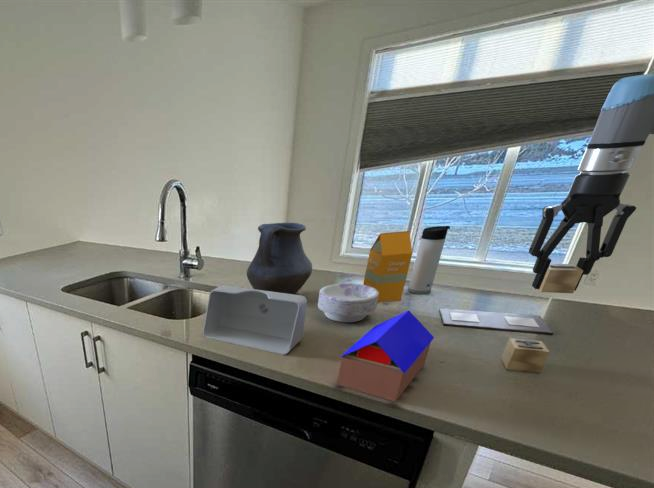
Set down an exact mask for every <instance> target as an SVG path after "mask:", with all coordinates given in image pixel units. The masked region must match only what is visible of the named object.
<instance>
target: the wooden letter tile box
mask: <svg viewBox="0 0 654 488" xmlns="http://www.w3.org/2000/svg"><path fill="white" fill-rule="evenodd" d="M576 265H577V264H574V263H550V265H549V268H548V269H547V272H546V274H545V276H544V279H543V281H542V284H541V286H540V289H537V290H538V291H539V292H540V293H552V294H553V293H554V294H574V293H575V291H574V290H575V288H576V286H577V284H578V281H579V279H580V277H581V275H582V273H583V270H582V269H580V268H579V267H577V266H576Z"/></svg>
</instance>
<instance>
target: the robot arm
mask: <svg viewBox="0 0 654 488" xmlns="http://www.w3.org/2000/svg"><path fill="white" fill-rule="evenodd" d="M592 131H593V132H592V134H591V137H590V140H589V142H588V144H587V145H586V149H585V151H584V153H583V156H582V158H581V161H580V163H579V166H578V168H577V170H578V172H580V173H577V174H576V175H575V176H574V178H573V180H572V183H571V186H570V188H569V189H568V193H567V196H566V197H565V199H564V200H563V201H562V202H561V203H560V204H556V205H553V206H547V205H546V206H544V207H543V208H542V211H541V212H542V214H541V215H542V216H541V221H540V223H539V225H538V228H537V231H536V233H535V235H534V237H533V239H532V242H531V244H530V247H529V249H528V254H530V255H531V256H532V257H536V259H535V262H534V265H533V267H532V272H533V273H534V274H535V276H534V278H533V281H532V284H531V287H532V288H534V290H538V289H540V286H541V284H542V281H543V279H544V276H545V274H546V272H547V269H548V268H549V265H550V264H552V259H551V258H550V256H551V254H552V253H553V251H554V250H555V249H556V248H557V246H558V245H559V244H560V243H561V242H562V240H564V238H565V237H566V235H567V234H568V232H569V231H570V230H571V229H572V228H573V227H574V226H575V225H576V224H582V223H586V224H587V237H586V249H585V257H579V258H578V261H577V263H576V264H575V265H576V266H577V267H579V268H580V269H582V270H583V273H582V275H581V277H580V279H579V281H578V284H577V286H576V288H575V290H574V292H576V291H577V289H578V287H579V286H580V285H579V284H580V283H581V280H582V278H583V276H584V275H587V276H588V275H589V274H590V273H591V272H592V269H593V267H594V265H595V263H596V262H597V261H599V260H600V259H603V258H609V257H610V256H612V255H613V253H614V250H615V248H616V246H617V243H618V241H619V239H620V237H621V234H622V233H623V230H624V227H625V225H626V223H627V221H628V219H630V217H631V216H632V215H633V213H635V212H636V210H637V207H636V206H635V205H632V204H630V203H629V204H628V203H626V204H625V203H621V199H620V197H621V195H622V193H623V191H624V189H625V187H626V184H627V183H628V180H629V178H630V176H631V174H630V173H629V172H628V171H631V170H632V169H634V167H635V164H636V162H637V161H638V159H639V156H640V154H641V151H642V150H643V147H644V145H646V142H647V139H648V137H649V135H654V73H646V74H639V75H631V76H626V77H622V78H621V79H618V80H617V81H616V82H615V83H614V84H613V86H612V87H611V89H610V91H609V93H608V94H607V96H606V99H605V101H604V103H603V105H602V107H601V109H600V113H599V115H598V118H597V121H596V124H595V127H594V129H593V130H592ZM560 211H561V212H562V214H563V216H564V217H563V219H561V221H560V223H559V225H558V226H557V228H555V230H554V232H553V233H552V234H551V236H550V237H549V238H548V239H547V241H546V243H545V240H546V238H547V236H548V234H549V232H550V229H551V227H552V225H553V222H554V219H555V217H557V216H558V215H559V212H560ZM612 212H613V214H614V216H613V218H612V220H611V222H610V225H609V227H608V229H607V231H606V234H605V236H604V239H603V241H602V243H601V234H602V227H603V224H604V217H606V216H607V215H609V214H610V213H612ZM544 243H545V244H544ZM600 245H601V246H600Z"/></svg>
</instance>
